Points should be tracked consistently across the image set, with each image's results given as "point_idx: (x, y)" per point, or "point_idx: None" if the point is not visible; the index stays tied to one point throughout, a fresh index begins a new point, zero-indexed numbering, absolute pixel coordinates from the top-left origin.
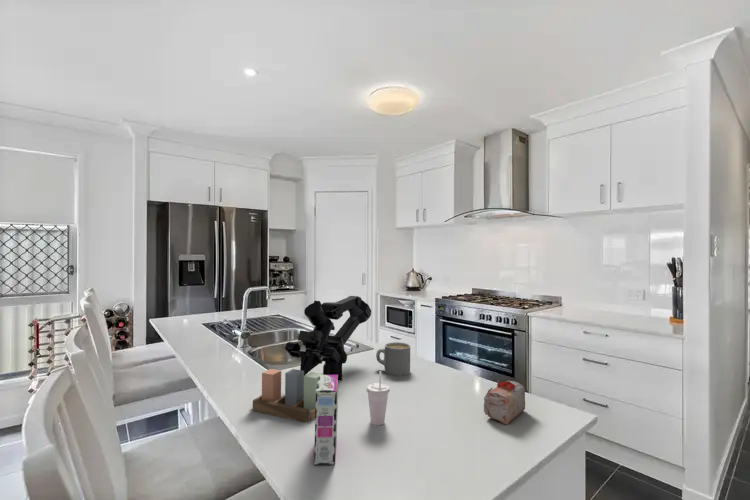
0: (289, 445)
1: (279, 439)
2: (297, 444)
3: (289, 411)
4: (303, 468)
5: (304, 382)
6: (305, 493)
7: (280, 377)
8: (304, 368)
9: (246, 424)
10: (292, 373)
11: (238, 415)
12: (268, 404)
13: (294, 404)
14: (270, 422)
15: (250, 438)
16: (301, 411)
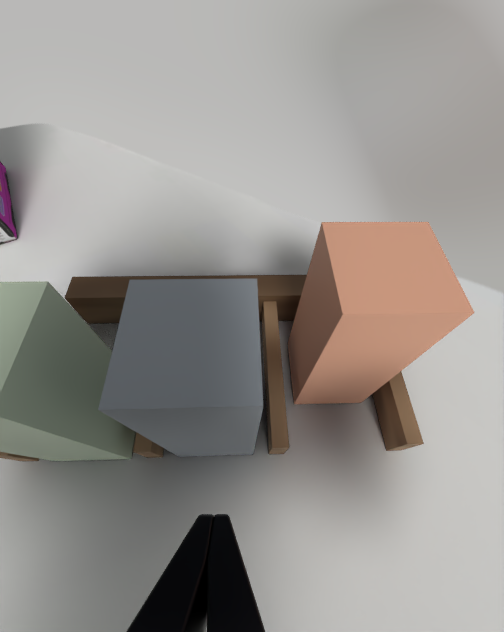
0: (95, 201)
1: (136, 211)
2: (74, 210)
3: None
4: (30, 160)
5: (70, 312)
6: (9, 127)
7: (324, 335)
8: (174, 593)
9: (282, 233)
10: (188, 294)
11: None
12: (270, 277)
13: None
14: (219, 264)
15: (215, 194)
16: (95, 278)
